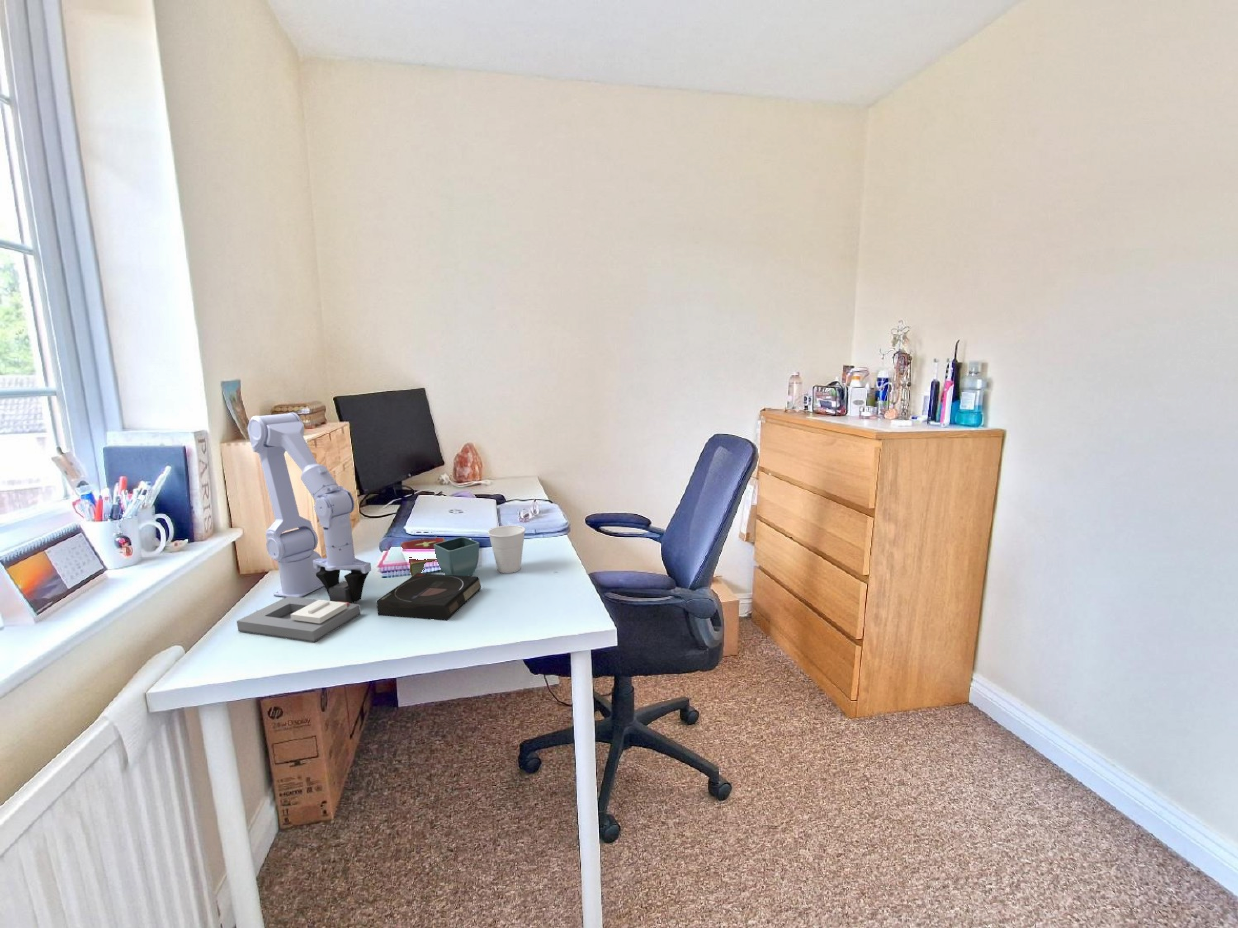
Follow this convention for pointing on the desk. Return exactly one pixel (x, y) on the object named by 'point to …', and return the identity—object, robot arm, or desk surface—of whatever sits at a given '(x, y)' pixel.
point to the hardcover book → (418, 565)
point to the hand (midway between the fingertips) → (345, 599)
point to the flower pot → (457, 556)
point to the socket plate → (279, 621)
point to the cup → (507, 547)
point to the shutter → (318, 611)
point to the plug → (340, 593)
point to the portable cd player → (429, 596)
